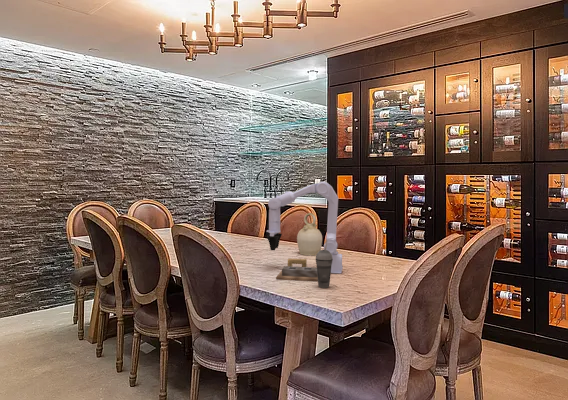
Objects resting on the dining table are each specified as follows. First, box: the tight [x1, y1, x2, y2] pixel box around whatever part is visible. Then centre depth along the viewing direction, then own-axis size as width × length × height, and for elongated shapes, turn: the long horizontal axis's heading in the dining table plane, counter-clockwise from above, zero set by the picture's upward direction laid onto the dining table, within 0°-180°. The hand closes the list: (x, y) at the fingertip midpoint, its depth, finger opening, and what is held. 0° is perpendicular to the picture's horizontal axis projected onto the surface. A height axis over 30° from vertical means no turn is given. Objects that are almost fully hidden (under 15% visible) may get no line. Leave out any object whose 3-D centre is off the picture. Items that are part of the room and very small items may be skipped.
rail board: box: [275, 265, 318, 282], centre depth 196 cm, size 20×14×4 cm
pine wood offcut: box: [287, 258, 308, 267], centre depth 209 cm, size 9×3×6 cm, turn 81°
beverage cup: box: [314, 239, 333, 289], centre depth 178 cm, size 7×7×20 cm
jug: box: [296, 212, 323, 256], centre depth 260 cm, size 15×16×25 cm
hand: (274, 249), depth 213 cm, fingers open, 7 cm apart
